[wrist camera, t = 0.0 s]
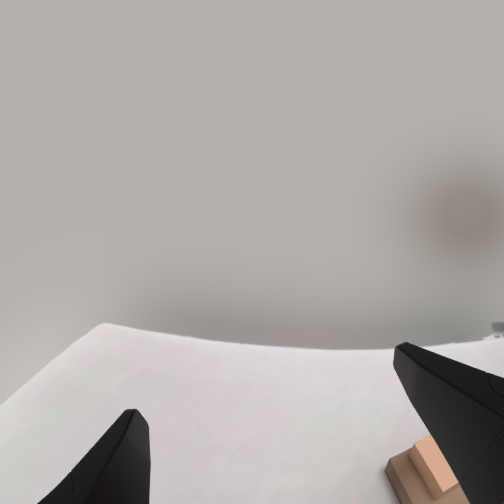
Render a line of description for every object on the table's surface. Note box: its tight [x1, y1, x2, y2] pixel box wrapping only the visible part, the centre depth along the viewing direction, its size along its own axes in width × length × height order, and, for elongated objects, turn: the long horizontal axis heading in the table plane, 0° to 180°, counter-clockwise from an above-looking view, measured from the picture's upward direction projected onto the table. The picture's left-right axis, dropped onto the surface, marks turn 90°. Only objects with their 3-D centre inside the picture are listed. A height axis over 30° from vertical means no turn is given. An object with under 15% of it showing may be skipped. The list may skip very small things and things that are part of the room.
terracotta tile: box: [409, 434, 460, 500], centre depth 11 cm, size 5×5×2 cm
